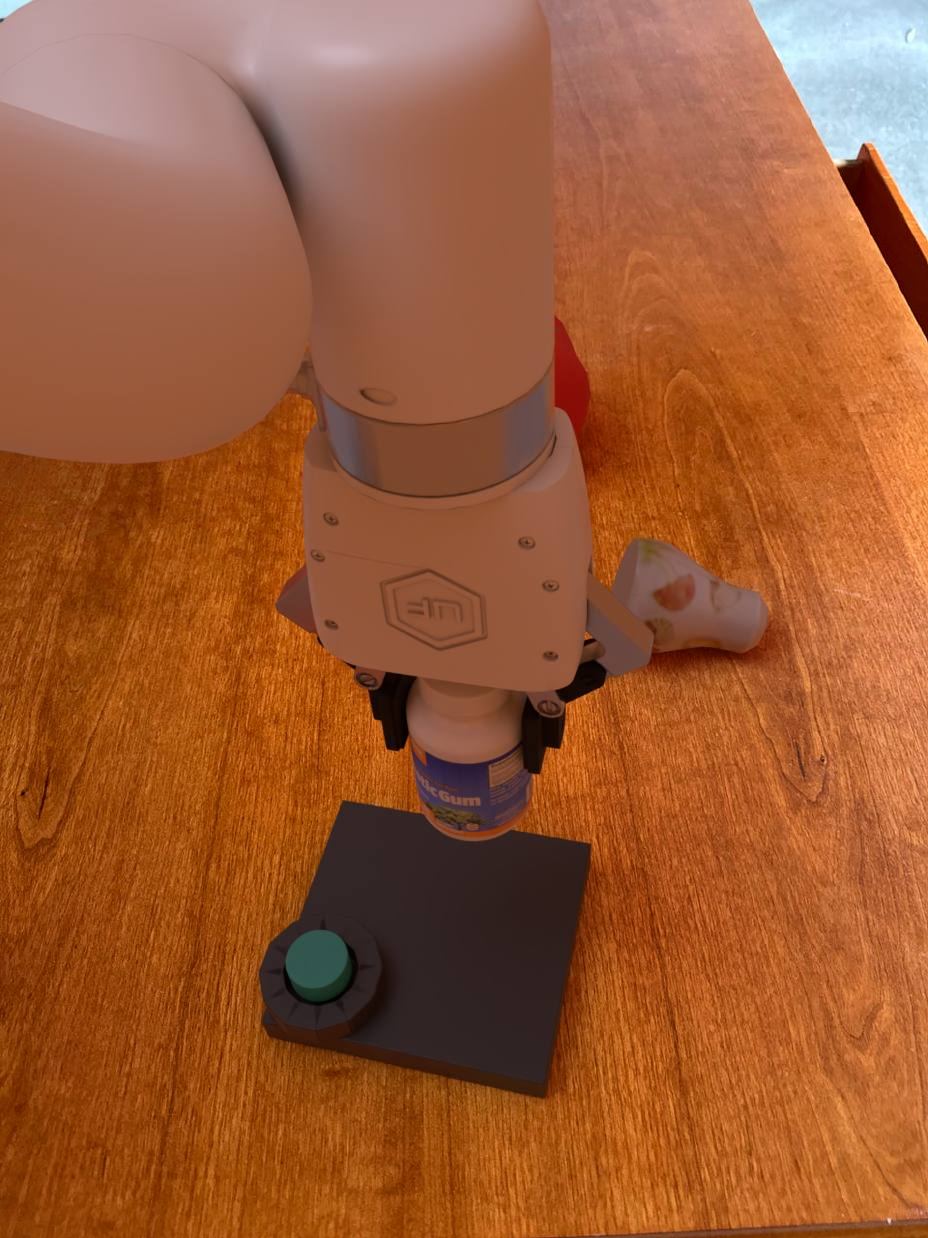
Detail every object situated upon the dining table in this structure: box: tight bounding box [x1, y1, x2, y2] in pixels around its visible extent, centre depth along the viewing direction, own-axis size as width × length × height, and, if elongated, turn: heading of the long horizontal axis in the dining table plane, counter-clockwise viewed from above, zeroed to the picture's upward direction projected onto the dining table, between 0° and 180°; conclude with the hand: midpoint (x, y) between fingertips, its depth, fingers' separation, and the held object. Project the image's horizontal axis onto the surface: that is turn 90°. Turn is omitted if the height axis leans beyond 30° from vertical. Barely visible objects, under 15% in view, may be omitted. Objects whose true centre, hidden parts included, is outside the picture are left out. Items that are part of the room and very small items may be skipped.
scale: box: [257, 799, 592, 1100], centre depth 58 cm, size 14×13×4 cm
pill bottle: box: [406, 676, 534, 841], centre depth 50 cm, size 5×5×10 cm
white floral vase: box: [610, 537, 769, 654], centre depth 71 cm, size 8×10×10 cm
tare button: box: [286, 930, 352, 1002], centre depth 55 cm, size 3×3×2 cm
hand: (470, 733), depth 50 cm, fingers closed on pill bottle, 5 cm apart
